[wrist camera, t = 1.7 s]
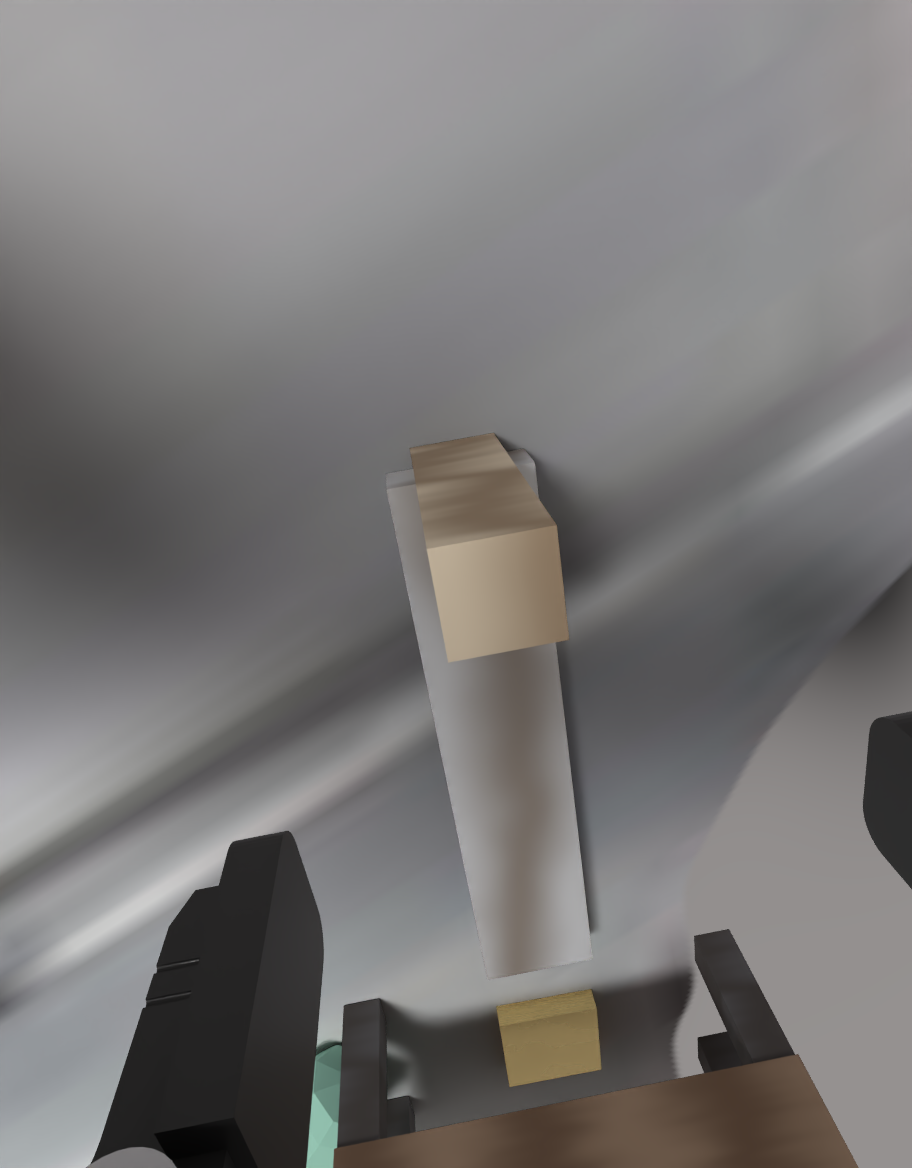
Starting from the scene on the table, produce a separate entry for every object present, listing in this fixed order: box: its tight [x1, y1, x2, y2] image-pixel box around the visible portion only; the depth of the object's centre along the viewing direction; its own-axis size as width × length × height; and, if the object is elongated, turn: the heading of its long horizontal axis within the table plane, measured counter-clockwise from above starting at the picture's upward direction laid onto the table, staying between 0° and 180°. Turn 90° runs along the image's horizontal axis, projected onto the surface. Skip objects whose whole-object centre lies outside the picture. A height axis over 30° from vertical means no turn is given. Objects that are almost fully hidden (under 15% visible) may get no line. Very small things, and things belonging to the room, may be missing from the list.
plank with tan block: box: [386, 433, 593, 980], centre depth 26 cm, size 5×25×10 cm, turn 9°
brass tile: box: [496, 989, 601, 1087], centre depth 38 cm, size 5×5×2 cm
